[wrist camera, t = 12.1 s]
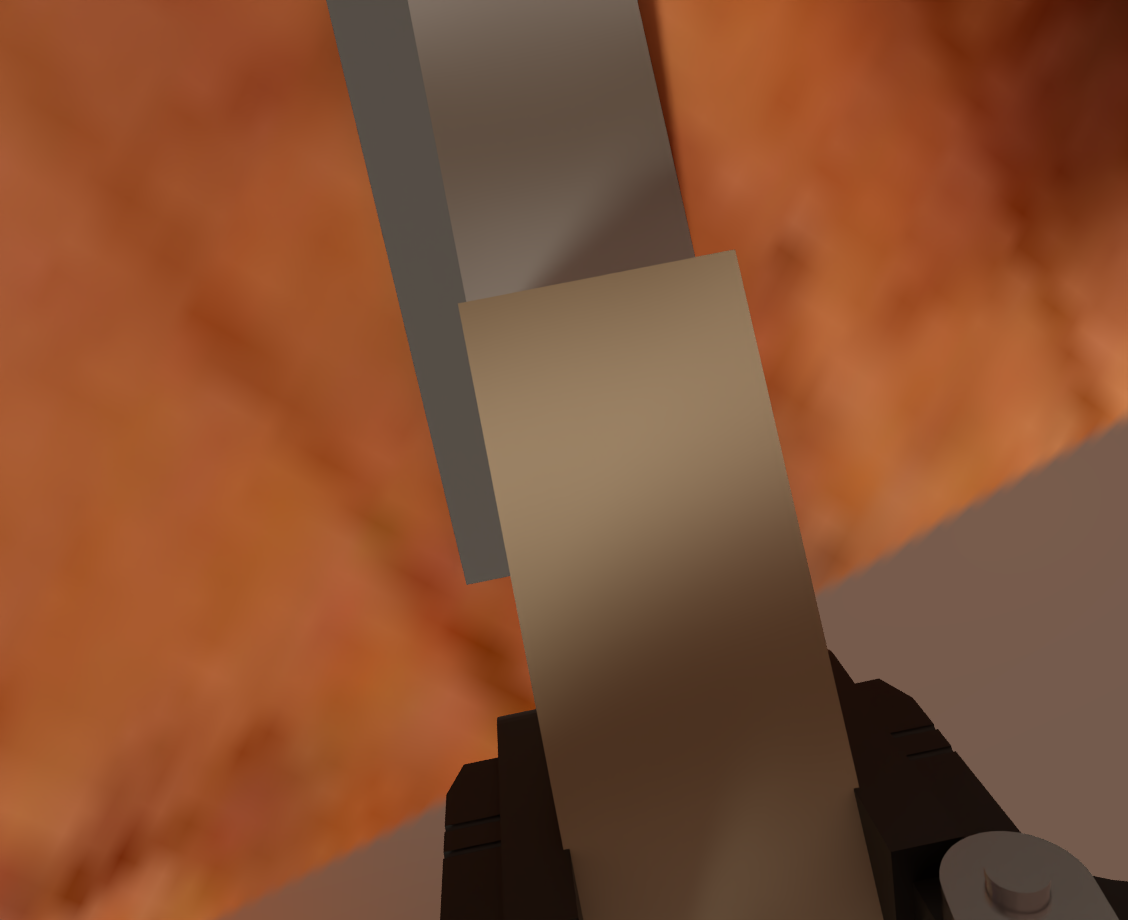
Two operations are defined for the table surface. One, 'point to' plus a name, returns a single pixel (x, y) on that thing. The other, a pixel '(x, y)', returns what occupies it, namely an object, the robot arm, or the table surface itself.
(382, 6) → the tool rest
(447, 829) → the robot arm
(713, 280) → the stepped beige bar
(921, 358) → the table surface
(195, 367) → the table surface
